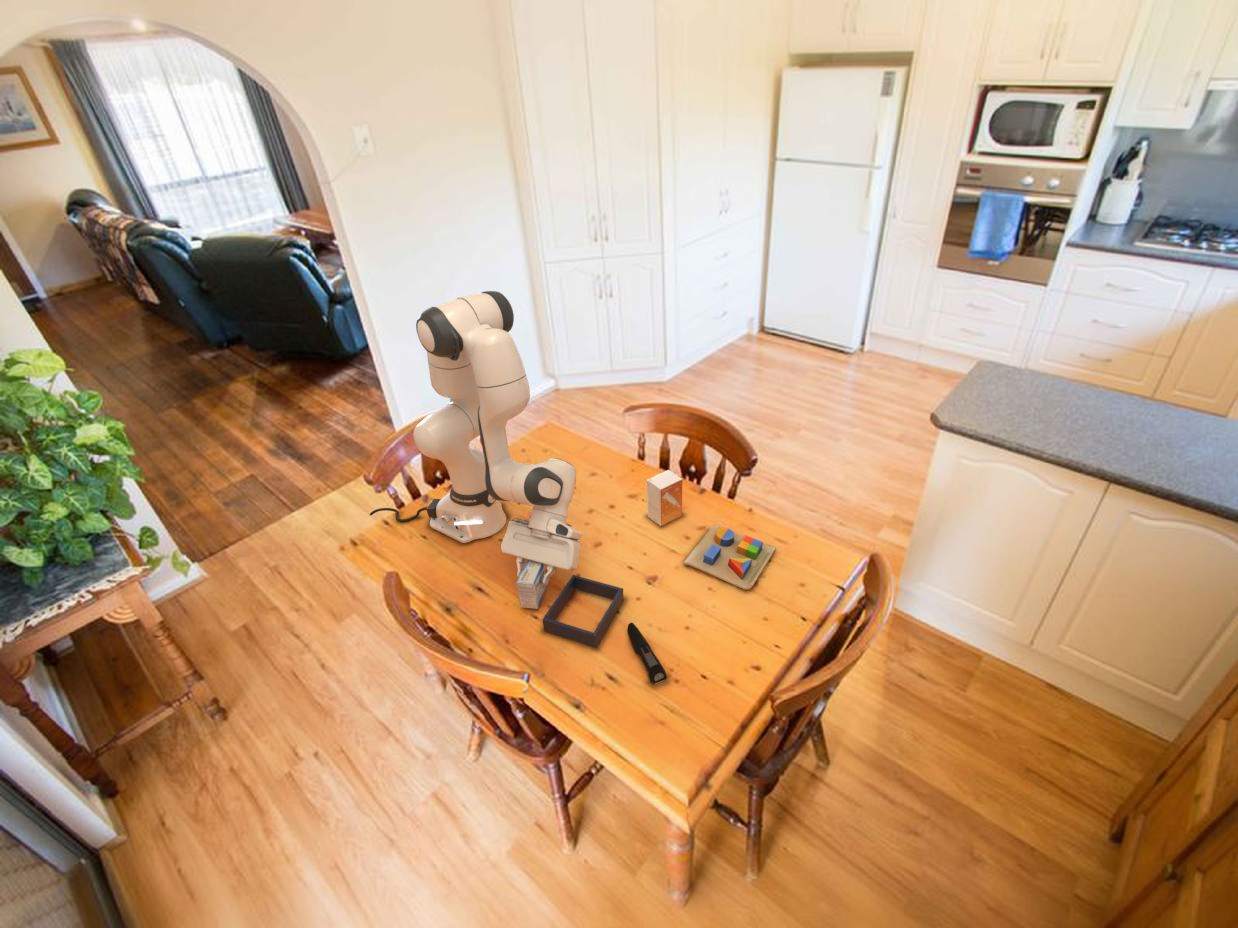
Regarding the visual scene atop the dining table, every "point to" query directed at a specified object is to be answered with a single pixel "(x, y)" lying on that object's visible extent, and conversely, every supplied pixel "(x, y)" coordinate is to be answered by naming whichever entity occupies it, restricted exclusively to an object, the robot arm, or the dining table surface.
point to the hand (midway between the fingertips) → (532, 580)
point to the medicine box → (531, 585)
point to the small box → (664, 497)
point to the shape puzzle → (730, 556)
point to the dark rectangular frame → (575, 632)
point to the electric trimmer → (646, 655)
